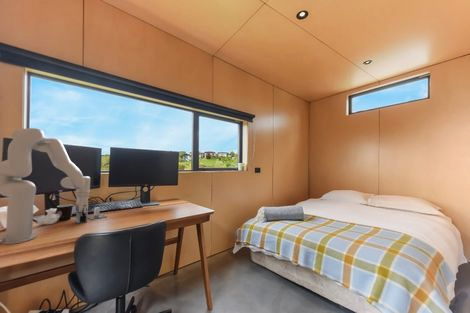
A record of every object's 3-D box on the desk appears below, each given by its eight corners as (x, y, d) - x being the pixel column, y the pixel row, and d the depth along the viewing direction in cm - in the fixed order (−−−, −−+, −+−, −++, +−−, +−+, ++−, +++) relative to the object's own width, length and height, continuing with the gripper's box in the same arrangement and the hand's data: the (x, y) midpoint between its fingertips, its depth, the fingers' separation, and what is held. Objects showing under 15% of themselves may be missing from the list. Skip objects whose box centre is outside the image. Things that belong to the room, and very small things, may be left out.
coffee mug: (74, 219, 141) (75, 205, 141) (59, 222, 133) (59, 207, 133) (68, 216, 147) (68, 203, 147) (53, 219, 140) (53, 205, 140)
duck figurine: (38, 230, 125) (44, 217, 123) (33, 221, 127) (39, 208, 125) (60, 224, 136) (67, 212, 134) (55, 216, 138) (62, 204, 136)
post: (90, 220, 140) (91, 210, 140) (86, 217, 146) (86, 207, 146) (106, 217, 148) (107, 207, 148) (102, 214, 154) (102, 205, 154)
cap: (78, 223, 132) (78, 213, 132) (75, 221, 135) (76, 211, 136) (87, 221, 136) (87, 211, 136) (85, 219, 139) (85, 210, 140)
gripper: (72, 193, 139) (71, 219, 138) (79, 196, 128) (78, 224, 127) (85, 192, 144) (84, 217, 144) (93, 195, 134) (92, 222, 133)
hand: (81, 220), depth 136 cm, fingers closed on cap, 5 cm apart
